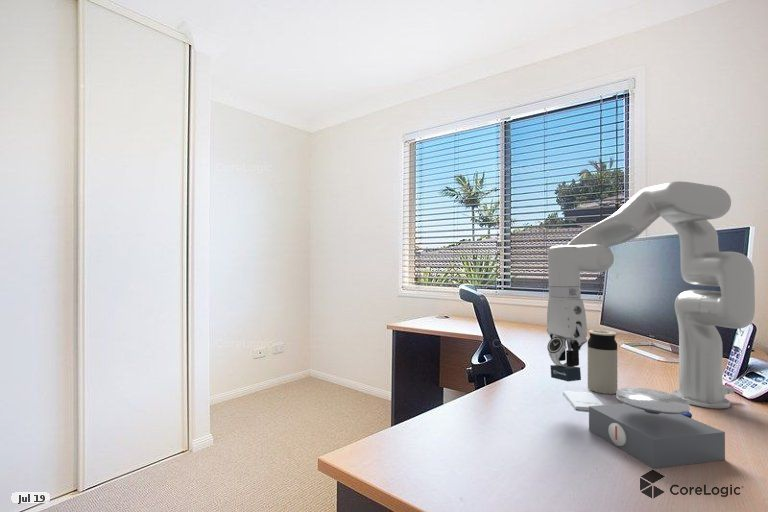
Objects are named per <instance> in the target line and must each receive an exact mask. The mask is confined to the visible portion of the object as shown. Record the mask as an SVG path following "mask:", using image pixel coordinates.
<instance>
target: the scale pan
mask: <svg viewBox="0 0 768 512" xmlns="http://www.w3.org/2000/svg"><path fill="white" fill-rule="evenodd" d="M615 394H616V395H615V396H616V399H617V400H618V401H620V402H621V403H622V404H624V403H625V404H627V405H629V406H632V407H635V408H638V409H642V410H643V411H645V412H647V413H651V414H660V413H665V414H683V413H687V412H690V410H691V404H689V402H688V401H686V400H685V399H683V398H681V397H678V396H676V395H673V393H669V392H667V391H661V390H656V389H650V388H643V387H623V388H619V389H617V391H616V393H615Z"/></svg>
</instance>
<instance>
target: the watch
mask: <svg viewBox="0 0 768 512" xmlns="http://www.w3.org/2000/svg"><path fill="white" fill-rule="evenodd" d="M573 343H574V340H572V344H573ZM546 348H547V352H548V355H549V357H550V360H551V362H552V363H553V364H552V365H551V364H550V376H551V378H553V379H556V380H559V381H560V380H561V381H565V382H576V381H581V380H582V378H581V377H582V375H581V367H579V366H570V367H569V366H567V361H565V363H561V361H559V359H558V358H560V356H561V354H562V353H563V352H564V350H565V351H566V350H567V349H568V346H567V340H566V338H564V337H561V336H556V337H554V338H552V339H551V338H550V339H549V341H548V342H547V347H546Z"/></svg>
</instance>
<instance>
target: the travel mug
mask: <svg viewBox="0 0 768 512" xmlns="http://www.w3.org/2000/svg"><path fill="white" fill-rule="evenodd" d="M587 333H589V337H588V339H587V388H588V389H589V390H590V391H592V392H594V391H595V392H594V393H597V392H598V394H602V393H603V394H604V395H614V394H616V391H617V390H618V343H617V341H616V336H617V333H616V332H615V331H611V330H604V329H590V330H587Z"/></svg>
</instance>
